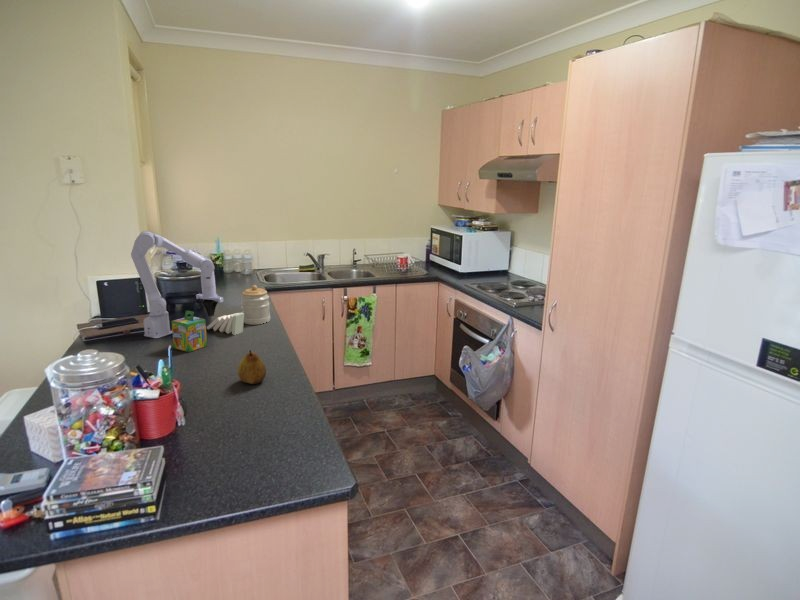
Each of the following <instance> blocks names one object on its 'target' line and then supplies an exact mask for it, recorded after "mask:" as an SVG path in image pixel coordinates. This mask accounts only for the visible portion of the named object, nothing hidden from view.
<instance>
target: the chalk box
mask: <svg viewBox="0 0 800 600" xmlns="http://www.w3.org/2000/svg"><path fill="white" fill-rule="evenodd" d="M188 315H190V316H188ZM194 315H195V312H194V311H191V310H185V313H184V317H182V318H177V319H174V320H171V321H170V322H171V331H172V344H173V346H172V347H173V349H175V350H179V351H182V352H186V353H191V352H193V351H197V350H200V349H203V348H205V347H208V338H207V325H206V323H207V322H206V319H205V318H202V317H197V316H194Z"/></svg>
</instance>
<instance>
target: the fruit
mask: <svg viewBox="0 0 800 600" xmlns="http://www.w3.org/2000/svg"><path fill="white" fill-rule="evenodd" d="M265 365H266V364H265V363H264V362H263V360H262V359H261V358H260V356H259V355H258V354H257V353H255V352H252V350H250V349H249V352H248V353H246V354H245V355H244V357H243V358H242V359H241V360H240V362H239V364H238V367H237V375H238V378H239V380H241V381H242V382H243V383H245V384H251V385H257V384H259V383H262V382H263V381H264V379H265V377H266V374H267V368H266V366H265ZM241 381H240V382H241Z"/></svg>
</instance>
